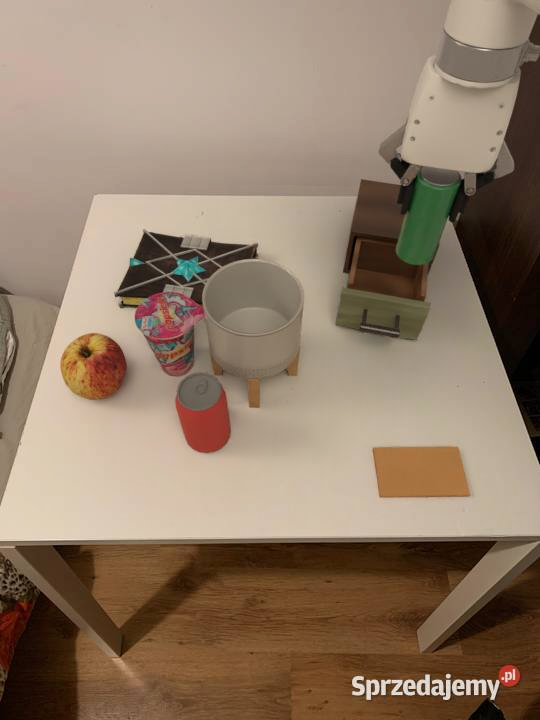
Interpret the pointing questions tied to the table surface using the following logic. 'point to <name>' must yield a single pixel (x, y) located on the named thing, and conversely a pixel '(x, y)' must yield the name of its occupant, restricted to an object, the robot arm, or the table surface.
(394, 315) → the drawer
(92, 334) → the apple
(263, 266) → the planter
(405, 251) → the green can
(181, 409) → the beer can
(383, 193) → the cabinet
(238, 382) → the table surface
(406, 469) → the mat
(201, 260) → the book
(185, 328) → the cup
